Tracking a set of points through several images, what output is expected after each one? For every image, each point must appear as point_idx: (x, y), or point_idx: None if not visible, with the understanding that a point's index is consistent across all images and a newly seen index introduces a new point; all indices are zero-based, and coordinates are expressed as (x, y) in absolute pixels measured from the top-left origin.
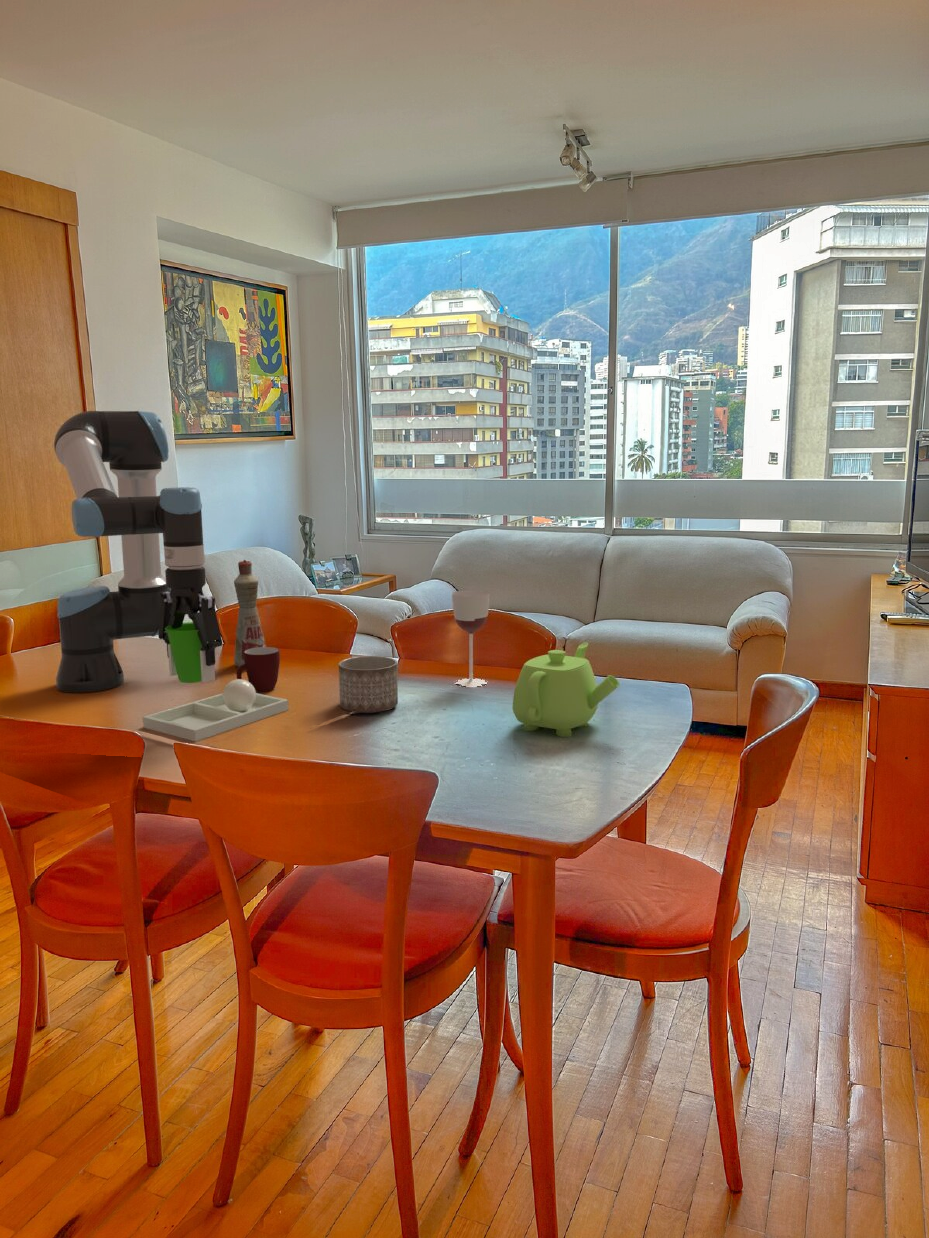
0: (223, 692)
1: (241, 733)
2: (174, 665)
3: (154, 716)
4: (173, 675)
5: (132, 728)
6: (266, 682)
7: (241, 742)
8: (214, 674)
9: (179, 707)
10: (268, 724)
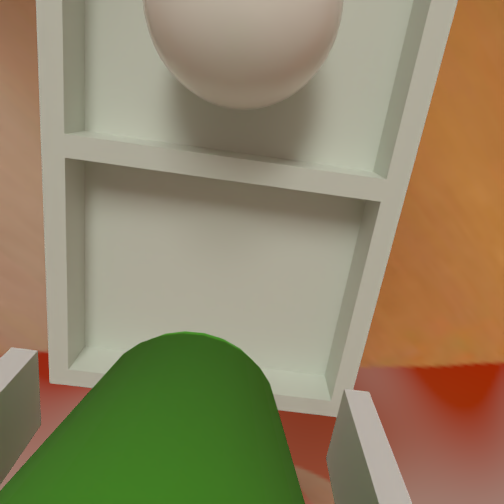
0: (188, 84)
1: (405, 233)
2: (1, 462)
3: (70, 348)
4: (39, 417)
5: (16, 345)
6: None
7: (460, 307)
8: (378, 421)
9: (65, 236)
10: (449, 91)
